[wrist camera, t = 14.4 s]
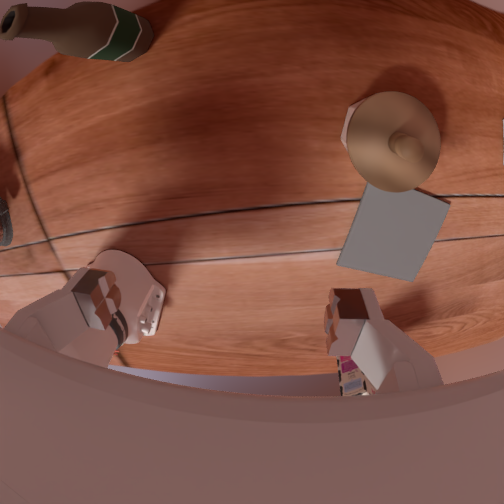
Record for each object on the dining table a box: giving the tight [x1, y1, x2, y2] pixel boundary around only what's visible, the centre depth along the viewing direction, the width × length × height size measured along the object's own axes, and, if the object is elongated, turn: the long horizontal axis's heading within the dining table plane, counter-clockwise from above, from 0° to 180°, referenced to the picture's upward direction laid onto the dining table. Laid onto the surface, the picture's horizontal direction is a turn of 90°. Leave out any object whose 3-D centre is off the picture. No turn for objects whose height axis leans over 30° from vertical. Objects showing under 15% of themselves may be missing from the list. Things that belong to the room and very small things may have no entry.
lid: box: [346, 91, 441, 193], centre depth 27 cm, size 13×13×6 cm
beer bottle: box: [0, 2, 154, 62], centre depth 18 cm, size 8×8×24 cm
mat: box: [336, 182, 450, 282], centre depth 41 cm, size 16×16×1 cm
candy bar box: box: [336, 356, 377, 396], centre depth 48 cm, size 11×5×16 cm, turn 36°
